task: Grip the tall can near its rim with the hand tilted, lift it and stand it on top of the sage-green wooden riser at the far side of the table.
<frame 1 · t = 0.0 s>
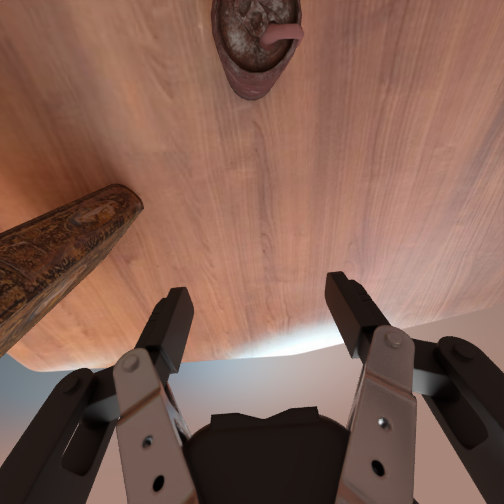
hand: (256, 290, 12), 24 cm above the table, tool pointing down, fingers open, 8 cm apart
book: (108, 224, 35), on the table
can: (252, 70, 25), on the table
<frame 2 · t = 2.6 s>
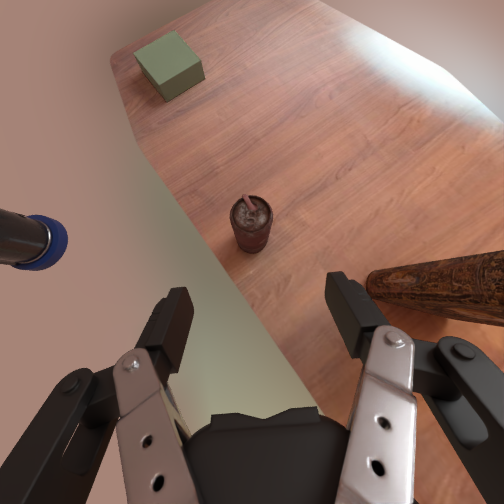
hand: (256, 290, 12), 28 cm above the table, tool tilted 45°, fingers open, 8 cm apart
book: (408, 293, 39), on the table
can: (251, 238, 41), on the table
riser: (173, 75, 49), on the table
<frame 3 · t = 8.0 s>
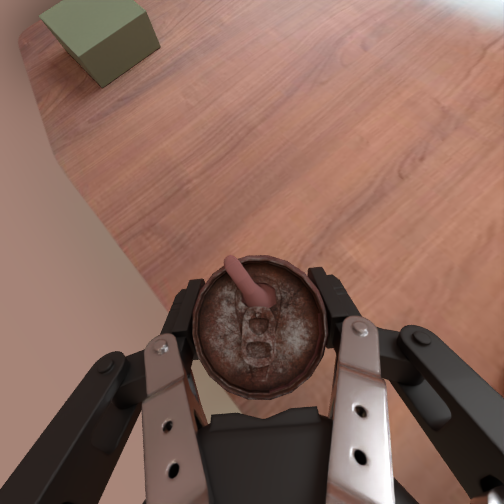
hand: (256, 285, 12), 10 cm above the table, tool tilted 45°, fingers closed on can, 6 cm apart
can: (260, 306, 22), on the table, touching gripper
riser: (112, 48, 31), on the table
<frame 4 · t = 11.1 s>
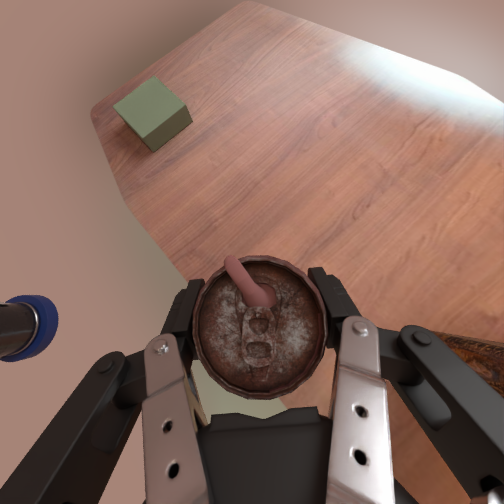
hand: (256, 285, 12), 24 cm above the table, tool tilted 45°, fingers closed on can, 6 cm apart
book: (462, 354, 32), on the table
can: (260, 306, 22), point 14 cm above the table, touching gripper
riser: (158, 122, 45), on the table
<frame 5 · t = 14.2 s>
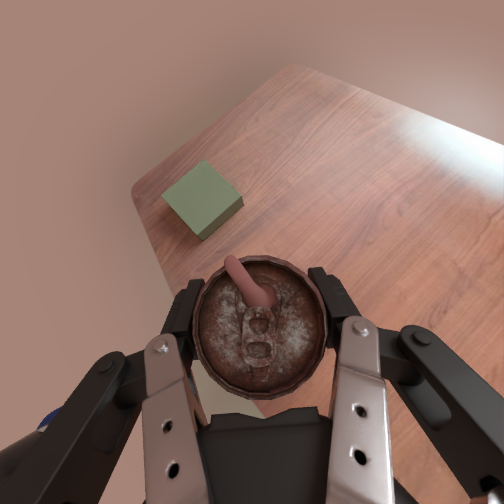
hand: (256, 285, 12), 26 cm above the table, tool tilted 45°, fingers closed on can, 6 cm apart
can: (260, 306, 22), point 15 cm above the table, touching gripper
riser: (206, 204, 42), on the table
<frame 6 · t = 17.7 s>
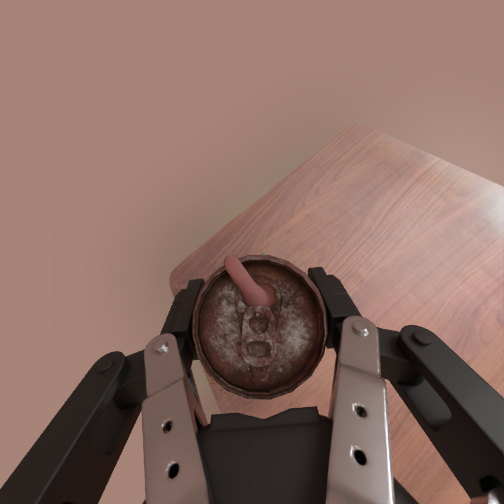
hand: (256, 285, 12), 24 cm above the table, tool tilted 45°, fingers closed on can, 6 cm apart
can: (260, 306, 22), point 13 cm above the table, touching gripper
when the fingers open (14 cm above the table, at t = 20.7 s): can stays where it is, resting on riser.
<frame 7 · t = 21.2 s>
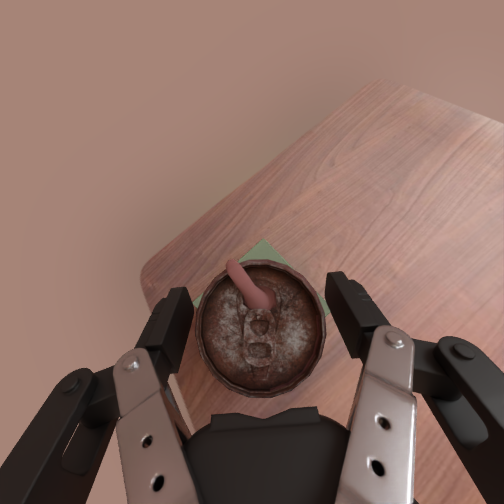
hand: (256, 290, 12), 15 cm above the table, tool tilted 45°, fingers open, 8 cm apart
can: (261, 306, 22), point 4 cm above the table, touching riser
riser: (261, 304, 26), on the table
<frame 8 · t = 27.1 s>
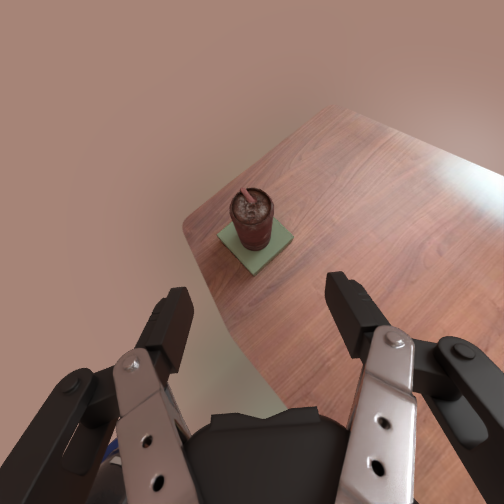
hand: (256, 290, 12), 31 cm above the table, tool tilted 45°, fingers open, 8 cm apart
can: (254, 236, 40), point 4 cm above the table, touching riser
riser: (255, 241, 44), on the table
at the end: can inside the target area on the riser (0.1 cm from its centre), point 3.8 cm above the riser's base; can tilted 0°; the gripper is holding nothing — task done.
